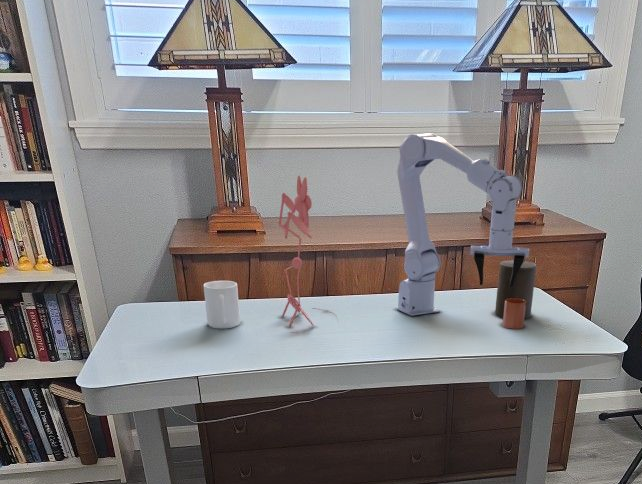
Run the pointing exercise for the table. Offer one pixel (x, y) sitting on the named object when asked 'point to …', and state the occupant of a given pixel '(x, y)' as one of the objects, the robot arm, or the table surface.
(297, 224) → the pink stick figure
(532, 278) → the pillar candle
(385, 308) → the table surface
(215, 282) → the cup
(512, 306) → the terracotta pipe segment
